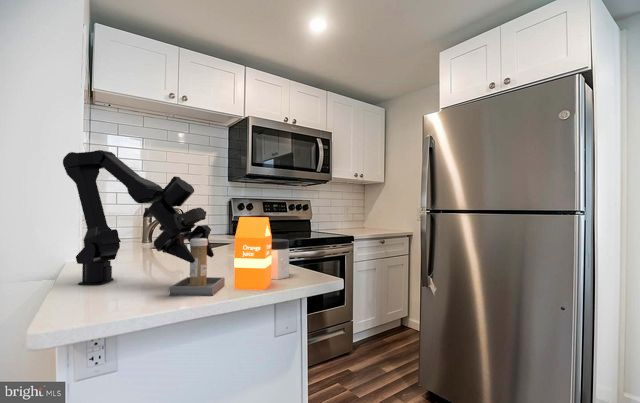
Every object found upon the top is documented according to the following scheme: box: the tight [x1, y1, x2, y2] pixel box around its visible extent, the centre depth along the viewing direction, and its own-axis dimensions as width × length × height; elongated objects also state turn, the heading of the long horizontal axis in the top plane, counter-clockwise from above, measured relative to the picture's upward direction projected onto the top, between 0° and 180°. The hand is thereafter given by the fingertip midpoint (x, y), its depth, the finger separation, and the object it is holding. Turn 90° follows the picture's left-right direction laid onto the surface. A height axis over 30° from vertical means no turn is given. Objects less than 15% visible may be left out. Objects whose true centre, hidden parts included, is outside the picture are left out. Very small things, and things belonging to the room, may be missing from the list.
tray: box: [169, 276, 226, 297], centre depth 88 cm, size 11×11×2 cm
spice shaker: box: [189, 238, 209, 287], centre depth 88 cm, size 5×5×14 cm
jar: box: [271, 238, 290, 280], centre depth 105 cm, size 9×8×12 cm
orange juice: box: [233, 216, 273, 291], centre depth 93 cm, size 8×9×20 cm
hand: (203, 259), depth 88 cm, fingers open, 9 cm apart
